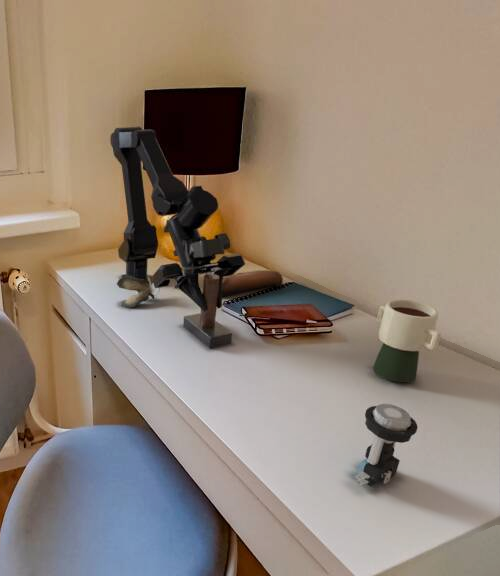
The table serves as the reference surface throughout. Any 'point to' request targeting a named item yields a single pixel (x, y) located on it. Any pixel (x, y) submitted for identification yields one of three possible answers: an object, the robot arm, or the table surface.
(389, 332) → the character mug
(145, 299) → the eagle figurine
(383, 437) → the push button
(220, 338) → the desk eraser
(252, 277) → the sunglasses case
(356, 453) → the table surface
